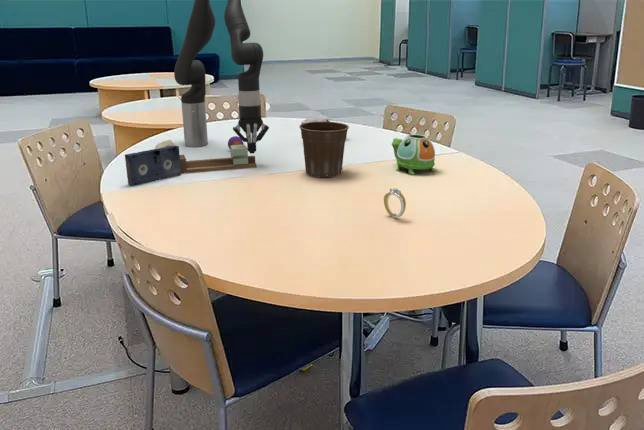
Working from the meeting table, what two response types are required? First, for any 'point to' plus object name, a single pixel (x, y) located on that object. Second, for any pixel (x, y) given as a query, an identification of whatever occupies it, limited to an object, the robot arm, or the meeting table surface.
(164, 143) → the fossil replica
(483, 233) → the meeting table surface
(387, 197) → the ring
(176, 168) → the vhs cassette tape
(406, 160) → the turtle holder
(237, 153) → the keeper
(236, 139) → the kendama
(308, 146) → the plant pot
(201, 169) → the rail
